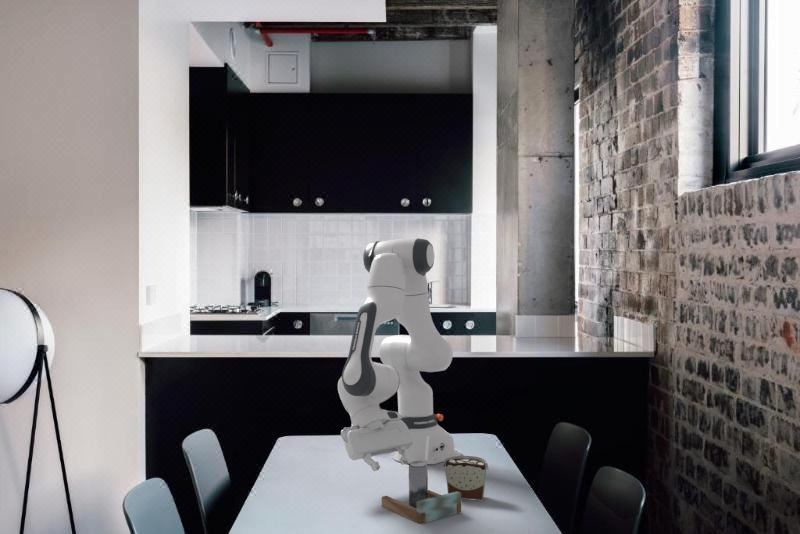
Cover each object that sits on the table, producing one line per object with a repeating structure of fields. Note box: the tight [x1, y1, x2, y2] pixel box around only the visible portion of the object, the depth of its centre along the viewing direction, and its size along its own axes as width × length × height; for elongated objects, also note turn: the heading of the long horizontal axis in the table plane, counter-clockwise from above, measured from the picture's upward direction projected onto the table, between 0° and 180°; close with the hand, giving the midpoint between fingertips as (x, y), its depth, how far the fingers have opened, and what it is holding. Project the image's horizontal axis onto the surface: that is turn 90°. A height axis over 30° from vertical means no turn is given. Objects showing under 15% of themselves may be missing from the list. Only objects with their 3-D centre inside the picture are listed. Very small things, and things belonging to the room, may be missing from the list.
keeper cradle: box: [381, 489, 462, 525], centre depth 188 cm, size 13×16×5 cm
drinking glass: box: [408, 461, 429, 508], centre depth 189 cm, size 5×5×12 cm
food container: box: [442, 455, 489, 501], centre depth 199 cm, size 12×6×10 cm, turn 71°
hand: (391, 466), depth 199 cm, fingers open, 8 cm apart
